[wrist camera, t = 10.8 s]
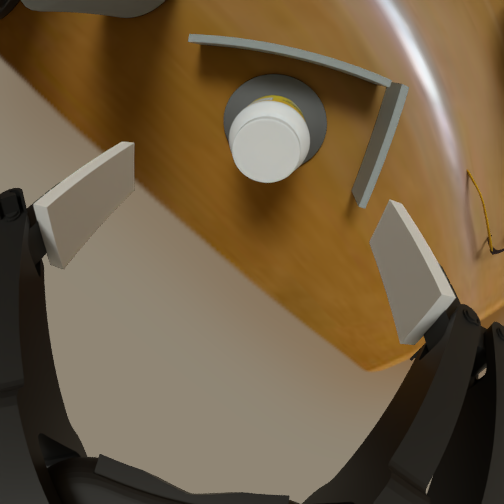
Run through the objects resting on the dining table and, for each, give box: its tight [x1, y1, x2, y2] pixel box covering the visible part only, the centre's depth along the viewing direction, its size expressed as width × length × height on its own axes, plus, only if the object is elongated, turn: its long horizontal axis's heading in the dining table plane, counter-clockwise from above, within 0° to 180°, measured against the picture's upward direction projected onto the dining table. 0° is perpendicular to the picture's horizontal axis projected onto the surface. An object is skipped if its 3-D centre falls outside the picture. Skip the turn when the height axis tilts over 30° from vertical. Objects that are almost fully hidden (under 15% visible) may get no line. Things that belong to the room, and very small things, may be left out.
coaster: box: [224, 74, 327, 164], centre depth 27 cm, size 11×11×1 cm
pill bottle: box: [229, 95, 310, 183], centre depth 22 cm, size 6×6×12 cm
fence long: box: [188, 34, 392, 88], centre depth 21 cm, size 19×1×4 cm, turn 79°
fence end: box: [352, 82, 409, 208], centre depth 25 cm, size 1×14×4 cm, turn 169°
